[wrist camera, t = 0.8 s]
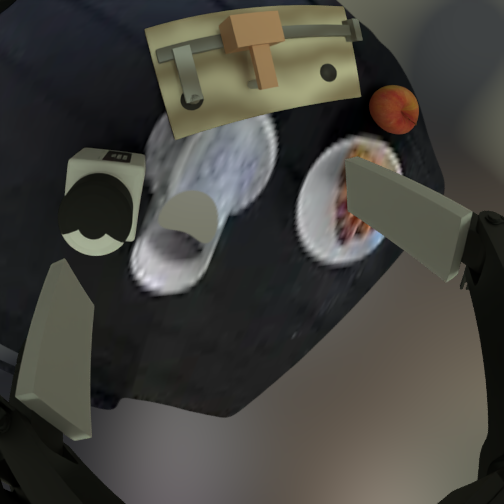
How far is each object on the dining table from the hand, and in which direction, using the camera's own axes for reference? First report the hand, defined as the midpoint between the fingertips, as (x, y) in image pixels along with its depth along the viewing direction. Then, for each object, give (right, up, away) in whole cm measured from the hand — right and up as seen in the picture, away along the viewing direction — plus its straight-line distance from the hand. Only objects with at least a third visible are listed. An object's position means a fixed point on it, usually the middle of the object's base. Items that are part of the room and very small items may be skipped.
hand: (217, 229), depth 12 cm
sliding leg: (+1, +21, +16) cm, 26 cm away
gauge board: (+3, +22, +18) cm, 29 cm away
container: (-15, +7, +19) cm, 26 cm away
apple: (+20, +21, +26) cm, 39 cm away
